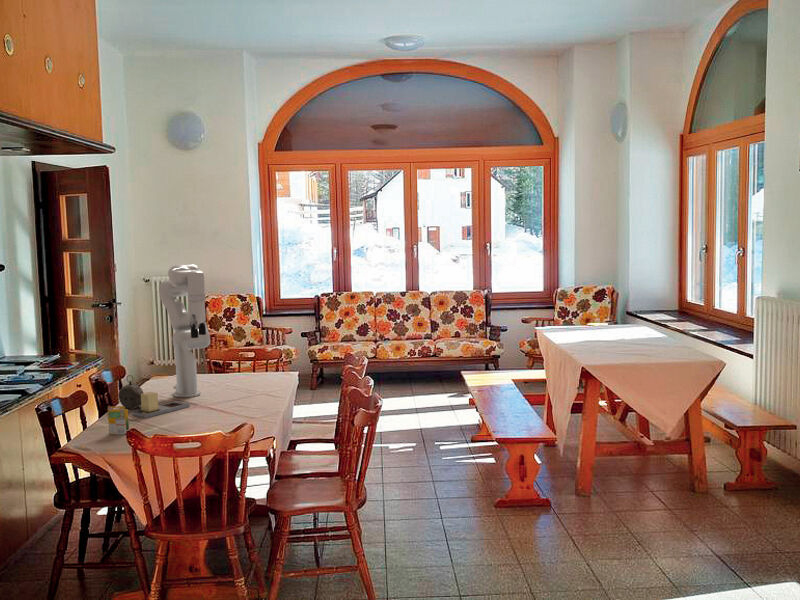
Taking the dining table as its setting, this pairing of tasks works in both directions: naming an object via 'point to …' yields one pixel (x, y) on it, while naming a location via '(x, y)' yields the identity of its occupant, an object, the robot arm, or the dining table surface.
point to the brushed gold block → (149, 402)
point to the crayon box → (118, 420)
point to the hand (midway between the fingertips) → (198, 336)
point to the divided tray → (162, 409)
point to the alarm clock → (130, 395)
